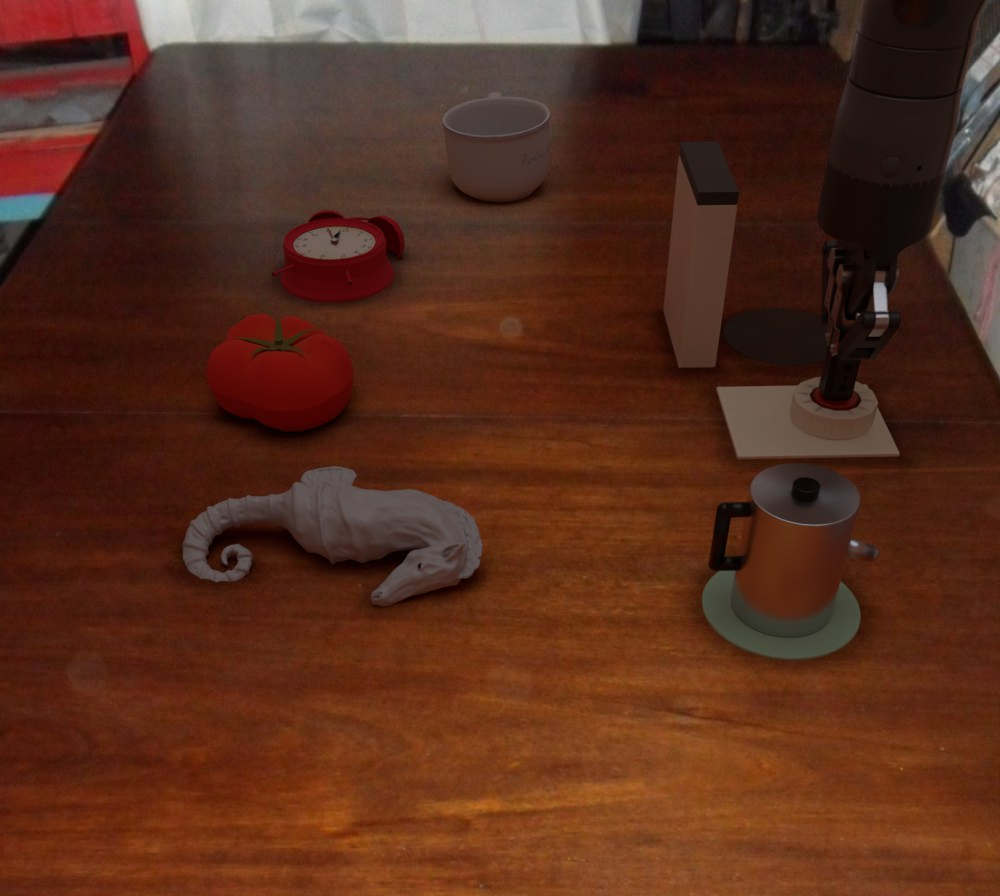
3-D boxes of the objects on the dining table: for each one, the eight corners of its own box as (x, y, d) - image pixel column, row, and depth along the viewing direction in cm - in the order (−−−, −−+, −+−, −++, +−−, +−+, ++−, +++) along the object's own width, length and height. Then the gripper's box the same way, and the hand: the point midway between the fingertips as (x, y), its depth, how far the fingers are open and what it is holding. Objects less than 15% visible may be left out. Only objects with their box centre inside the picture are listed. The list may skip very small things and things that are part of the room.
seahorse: (168, 619, 74) (483, 568, 73) (168, 469, 79) (463, 419, 78) (197, 656, 79) (493, 608, 78) (195, 513, 84) (474, 465, 83)
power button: (847, 404, 92) (852, 384, 90) (857, 427, 89) (862, 406, 88) (806, 405, 92) (810, 385, 90) (815, 427, 89) (819, 407, 88)
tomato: (304, 459, 89) (293, 380, 84) (193, 419, 93) (176, 341, 88) (379, 401, 95) (373, 324, 90) (272, 366, 99) (260, 290, 94)
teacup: (541, 217, 120) (543, 134, 114) (435, 211, 121) (432, 128, 115) (558, 166, 129) (560, 86, 124) (460, 160, 131) (458, 81, 125)
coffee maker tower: (696, 319, 104) (717, 141, 94) (713, 377, 97) (739, 191, 87) (662, 320, 104) (680, 141, 94) (677, 378, 97) (698, 191, 87)
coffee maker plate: (826, 317, 105) (828, 307, 104) (853, 375, 98) (855, 364, 97) (713, 319, 104) (714, 308, 104) (732, 377, 97) (733, 366, 97)
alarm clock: (253, 267, 104) (308, 165, 111) (269, 325, 109) (320, 224, 117) (366, 279, 102) (414, 175, 109) (376, 338, 107) (422, 235, 115)
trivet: (838, 565, 80) (840, 555, 79) (875, 666, 73) (878, 656, 72) (690, 568, 80) (691, 558, 79) (713, 669, 73) (714, 659, 72)
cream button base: (863, 397, 95) (871, 363, 93) (896, 467, 88) (906, 432, 86) (714, 400, 95) (719, 365, 93) (735, 470, 88) (741, 435, 86)
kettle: (853, 571, 78) (884, 452, 72) (877, 636, 74) (913, 515, 67) (694, 575, 78) (712, 455, 71) (709, 639, 73) (729, 518, 67)
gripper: (976, 196, 72) (907, 443, 85) (917, 119, 82) (862, 352, 94) (854, 197, 72) (802, 444, 85) (808, 120, 82) (768, 353, 94)
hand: (834, 395), depth 89 cm, fingers closed
